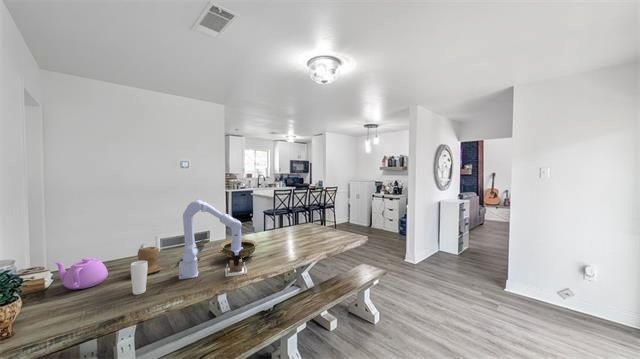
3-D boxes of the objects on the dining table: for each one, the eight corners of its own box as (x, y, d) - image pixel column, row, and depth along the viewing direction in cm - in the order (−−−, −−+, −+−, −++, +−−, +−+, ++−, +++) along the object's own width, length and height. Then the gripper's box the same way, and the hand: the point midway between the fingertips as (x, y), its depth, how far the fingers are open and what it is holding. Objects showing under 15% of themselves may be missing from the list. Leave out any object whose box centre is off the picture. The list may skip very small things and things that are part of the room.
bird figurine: (180, 266, 154) (196, 236, 162) (173, 263, 159) (189, 234, 167) (198, 271, 163) (212, 242, 171) (190, 268, 169) (205, 240, 177)
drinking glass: (145, 287, 127) (145, 259, 127) (149, 292, 123) (149, 262, 123) (129, 292, 122) (128, 262, 122) (133, 297, 118) (132, 266, 117)
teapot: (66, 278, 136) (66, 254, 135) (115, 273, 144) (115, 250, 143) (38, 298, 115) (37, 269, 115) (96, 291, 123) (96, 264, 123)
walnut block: (229, 272, 146) (229, 262, 146) (229, 269, 150) (229, 260, 150) (241, 271, 148) (242, 261, 148) (241, 268, 152) (241, 258, 152)
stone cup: (157, 266, 155) (157, 243, 155) (163, 271, 147) (163, 247, 147) (127, 274, 144) (127, 248, 143) (132, 280, 136) (132, 253, 135)
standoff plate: (225, 276, 143) (225, 269, 142) (225, 270, 152) (225, 263, 151) (246, 274, 147) (246, 267, 147) (245, 268, 156) (245, 261, 156)
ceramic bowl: (225, 268, 155) (226, 252, 154) (210, 258, 171) (210, 244, 171) (266, 257, 176) (267, 243, 176) (249, 249, 193) (250, 236, 192)
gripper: (243, 243, 143) (243, 266, 144) (242, 237, 157) (242, 258, 157) (231, 244, 141) (230, 268, 141) (230, 238, 154) (230, 259, 155)
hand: (236, 263), depth 149 cm, fingers open, 7 cm apart
